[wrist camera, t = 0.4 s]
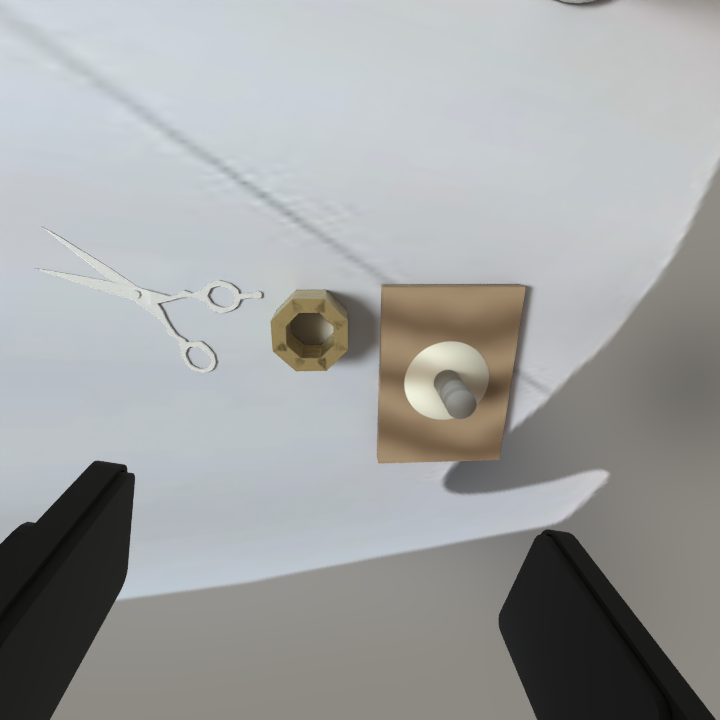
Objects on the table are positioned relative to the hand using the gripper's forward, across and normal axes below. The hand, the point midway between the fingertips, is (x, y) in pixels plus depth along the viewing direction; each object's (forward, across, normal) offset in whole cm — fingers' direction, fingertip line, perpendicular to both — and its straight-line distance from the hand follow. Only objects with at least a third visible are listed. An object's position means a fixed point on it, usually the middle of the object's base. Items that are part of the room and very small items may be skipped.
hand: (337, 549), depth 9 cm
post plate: (+33, -14, +6) cm, 36 cm away
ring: (+33, +1, +4) cm, 33 cm away
